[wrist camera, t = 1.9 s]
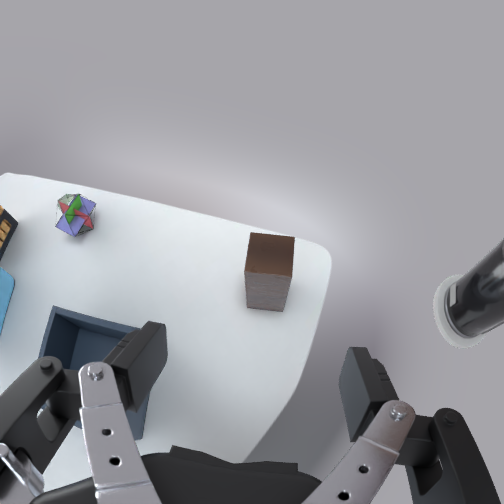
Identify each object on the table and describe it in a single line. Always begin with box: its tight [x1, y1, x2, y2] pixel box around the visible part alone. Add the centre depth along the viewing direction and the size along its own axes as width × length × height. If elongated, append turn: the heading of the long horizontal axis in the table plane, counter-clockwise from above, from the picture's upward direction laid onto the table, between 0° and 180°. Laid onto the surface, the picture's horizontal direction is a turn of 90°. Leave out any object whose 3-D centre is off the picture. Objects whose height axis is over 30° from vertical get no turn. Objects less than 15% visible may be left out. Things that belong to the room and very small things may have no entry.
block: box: [244, 232, 295, 312], centre depth 32 cm, size 4×4×10 cm
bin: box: [38, 305, 150, 440], centre depth 27 cm, size 13×13×7 cm
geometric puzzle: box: [55, 193, 96, 238], centre depth 39 cm, size 7×7×8 cm
